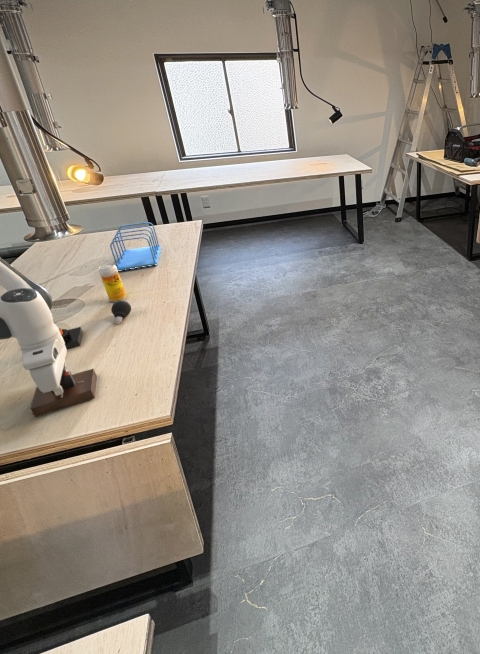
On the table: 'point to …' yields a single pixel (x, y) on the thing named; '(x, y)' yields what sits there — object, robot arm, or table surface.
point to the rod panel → (66, 394)
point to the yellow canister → (112, 282)
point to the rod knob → (67, 380)
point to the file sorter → (136, 250)
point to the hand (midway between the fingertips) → (62, 383)
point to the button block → (72, 337)
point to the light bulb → (120, 310)
